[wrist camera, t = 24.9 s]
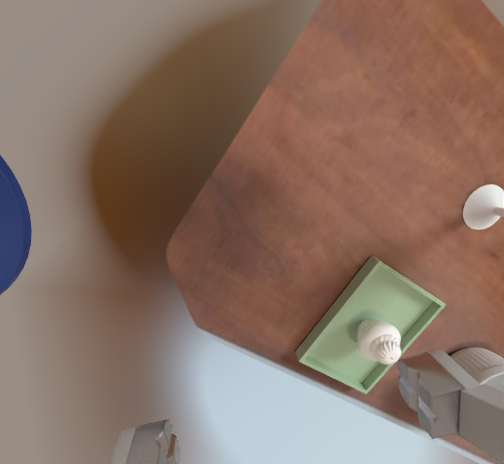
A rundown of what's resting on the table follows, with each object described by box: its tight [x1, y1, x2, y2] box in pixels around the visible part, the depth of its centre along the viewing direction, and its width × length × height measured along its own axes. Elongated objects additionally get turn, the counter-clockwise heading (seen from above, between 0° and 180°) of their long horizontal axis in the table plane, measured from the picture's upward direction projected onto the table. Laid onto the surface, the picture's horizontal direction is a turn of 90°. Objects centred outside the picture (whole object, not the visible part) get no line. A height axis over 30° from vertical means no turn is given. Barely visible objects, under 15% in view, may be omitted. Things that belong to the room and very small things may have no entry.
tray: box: [295, 255, 446, 394], centre depth 45 cm, size 19×14×2 cm
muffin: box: [357, 318, 401, 365], centre depth 42 cm, size 6×6×7 cm
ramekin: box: [450, 347, 504, 392], centre depth 48 cm, size 13×13×7 cm
